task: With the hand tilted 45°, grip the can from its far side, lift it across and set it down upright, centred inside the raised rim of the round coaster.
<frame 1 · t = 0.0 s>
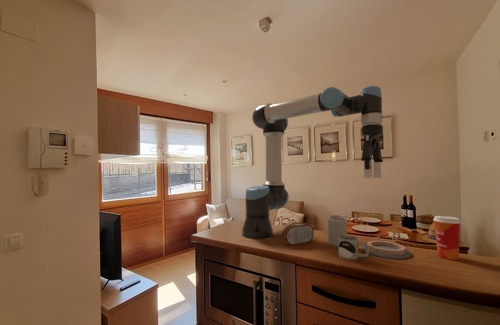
hand: (373, 178, 93), 28 cm above the worktop, tool pointing down, fingers open, 13 cm apart
can: (337, 245, 97), on the worktop
paper cup: (448, 257, 83), on the worktop
mug: (353, 258, 82), on the worktop
tin: (298, 244, 99), on the worktop
coaster: (385, 251, 89), on the worktop
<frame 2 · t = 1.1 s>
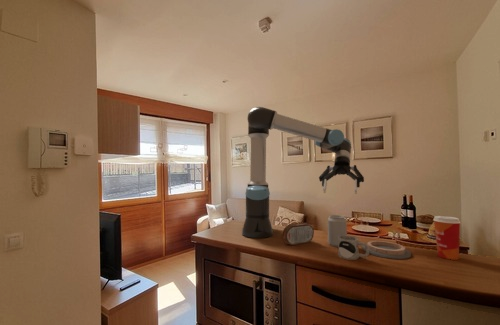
hand: (339, 191, 107), 22 cm above the worktop, tool tilted 45°, fingers open, 13 cm apart
nothing on the worktop moved.
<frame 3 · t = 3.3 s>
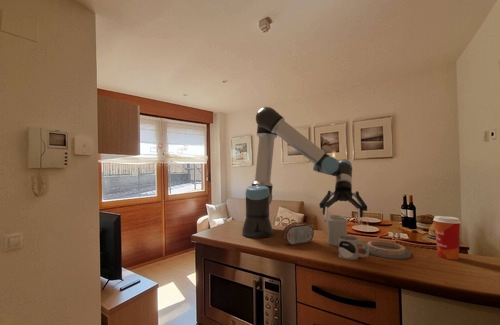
hand: (341, 221, 101), 9 cm above the worktop, tool tilted 45°, fingers open, 13 cm apart
nothing on the worktop moved.
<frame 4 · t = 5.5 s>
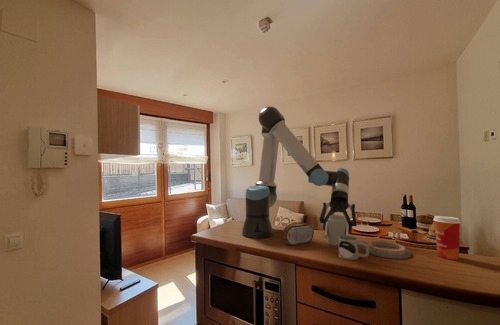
hand: (336, 238, 94), 4 cm above the worktop, tool tilted 45°, fingers closed on can, 7 cm apart
can: (337, 245, 97), on the worktop, touching gripper
everything else where it was.
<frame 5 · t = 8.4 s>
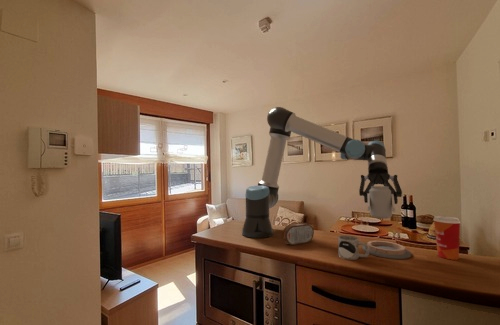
hand: (381, 209, 87), 16 cm above the worktop, tool tilted 45°, fingers closed on can, 7 cm apart
can: (381, 217, 90), point 13 cm above the worktop, touching gripper
everything else where it was.
when the fingers open (6 cm above the worktop, at t = 11.2 s): can drops 2 cm, resting on coaster.
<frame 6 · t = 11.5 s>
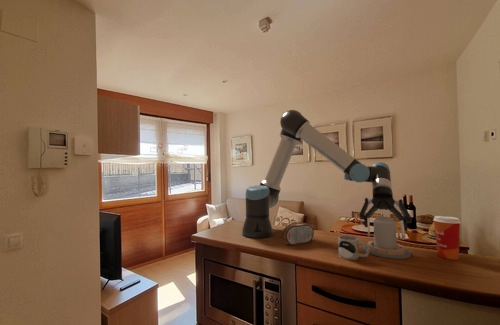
hand: (385, 235, 87), 7 cm above the worktop, tool tilted 45°, fingers open, 10 cm apart
can: (385, 249, 89), point 1 cm above the worktop, touching coaster
everything else where it was.
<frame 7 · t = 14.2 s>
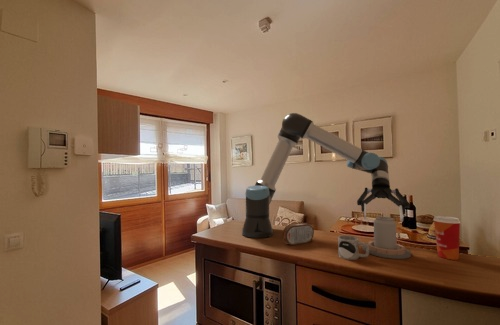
hand: (383, 218, 99), 11 cm above the worktop, tool tilted 45°, fingers open, 13 cm apart
nothing on the worktop moved.
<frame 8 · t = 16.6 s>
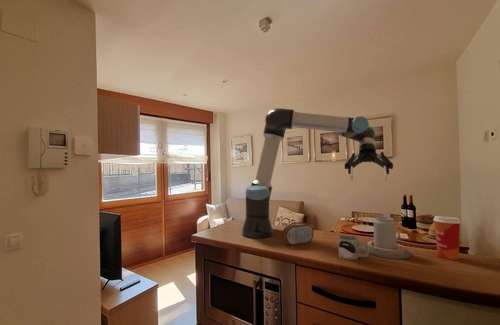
hand: (368, 178, 104), 28 cm above the worktop, tool tilted 45°, fingers open, 13 cm apart
nothing on the worktop moved.
at the end: can 0.1 cm off-centre on the coaster, point 0.6 cm above the coaster's base; can tilted 0°; the gripper is holding nothing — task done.
